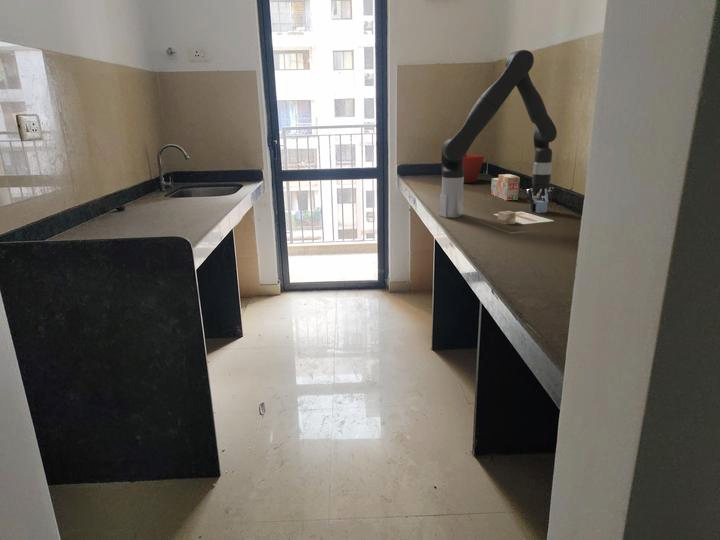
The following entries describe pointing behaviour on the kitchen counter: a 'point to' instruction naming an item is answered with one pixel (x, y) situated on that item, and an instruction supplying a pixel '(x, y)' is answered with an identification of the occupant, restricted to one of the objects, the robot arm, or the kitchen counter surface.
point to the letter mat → (528, 218)
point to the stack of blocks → (505, 186)
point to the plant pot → (472, 167)
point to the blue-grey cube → (541, 206)
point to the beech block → (506, 217)
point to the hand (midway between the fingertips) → (538, 211)
